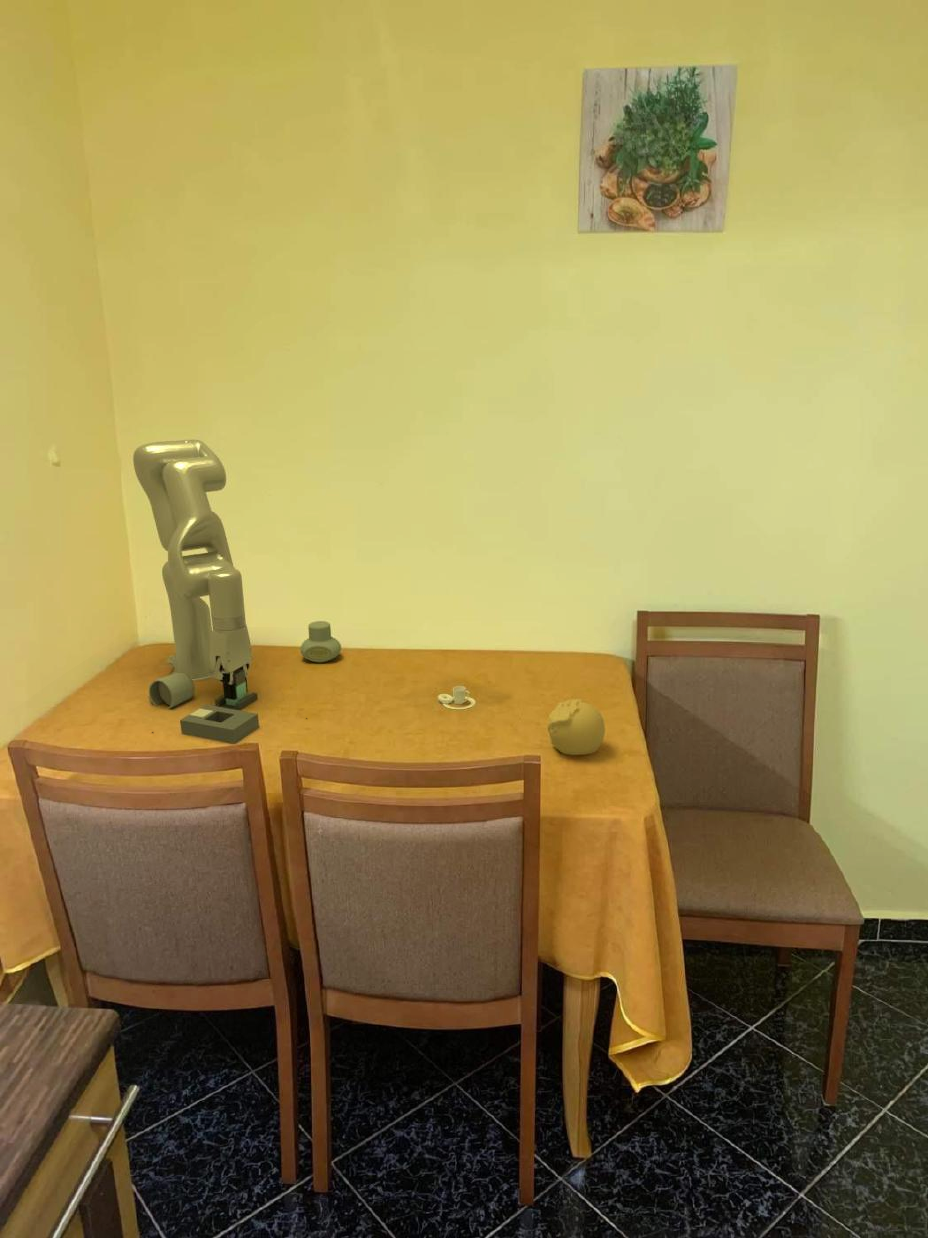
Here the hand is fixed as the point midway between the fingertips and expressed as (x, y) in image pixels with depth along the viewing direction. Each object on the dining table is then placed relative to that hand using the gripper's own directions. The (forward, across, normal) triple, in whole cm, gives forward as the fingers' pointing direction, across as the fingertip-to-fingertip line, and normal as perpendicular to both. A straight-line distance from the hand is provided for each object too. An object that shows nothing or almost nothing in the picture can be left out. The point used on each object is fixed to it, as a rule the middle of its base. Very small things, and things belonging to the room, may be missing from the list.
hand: (236, 694), depth 206 cm
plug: (+2, 0, 0) cm, 2 cm away
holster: (+3, 0, 0) cm, 3 cm away
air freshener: (+3, -35, +2) cm, 35 cm away
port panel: (+3, +14, +6) cm, 15 cm away
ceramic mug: (+3, +5, -16) cm, 17 cm away
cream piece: (+4, -23, +47) cm, 52 cm away
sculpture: (+3, -7, +81) cm, 81 cm away
